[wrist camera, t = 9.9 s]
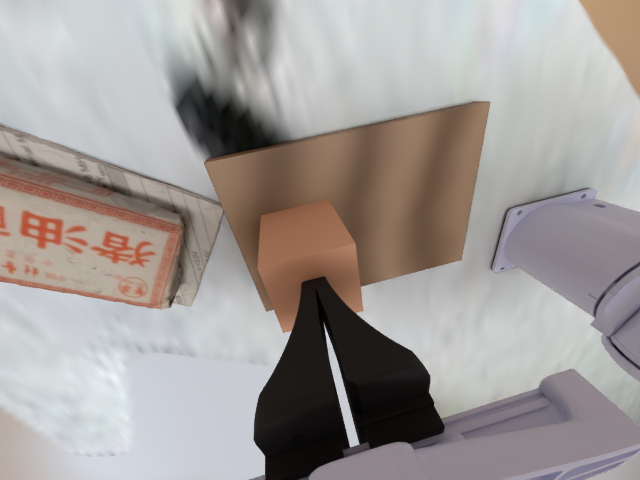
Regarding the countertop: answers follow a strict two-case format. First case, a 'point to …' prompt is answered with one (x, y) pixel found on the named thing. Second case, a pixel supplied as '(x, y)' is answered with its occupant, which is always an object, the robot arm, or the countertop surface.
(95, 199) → the packaged product
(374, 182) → the board
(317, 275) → the orange rectangular block
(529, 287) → the countertop surface
